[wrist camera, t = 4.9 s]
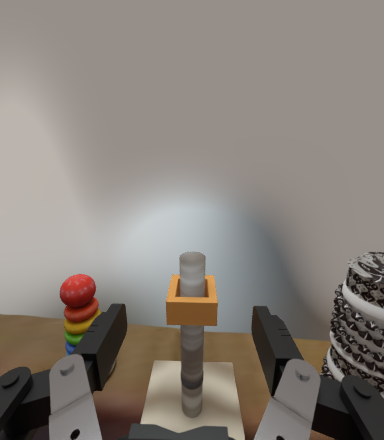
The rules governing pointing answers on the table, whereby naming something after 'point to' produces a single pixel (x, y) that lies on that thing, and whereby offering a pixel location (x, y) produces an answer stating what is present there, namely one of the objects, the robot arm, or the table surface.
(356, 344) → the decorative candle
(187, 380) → the post stand
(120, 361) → the table surface
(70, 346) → the stacking toy
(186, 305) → the collar
